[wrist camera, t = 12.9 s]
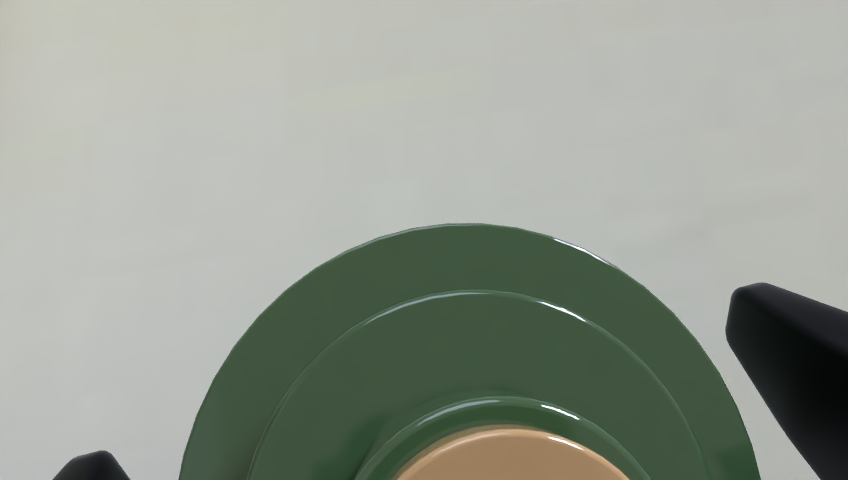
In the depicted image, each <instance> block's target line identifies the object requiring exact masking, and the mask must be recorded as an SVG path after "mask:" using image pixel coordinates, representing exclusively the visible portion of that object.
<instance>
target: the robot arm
mask: <svg viewBox="0 0 848 480" xmlns="http://www.w3.org/2000/svg"><path fill="white" fill-rule="evenodd" d="M725 331H726V338H727V341H728V343H729V346H730V347H731V349H732V351H733V352H734V354H735V355H736V357H737V359H738V360H739V362H740V363H741V365H742V366H743V368H744V370H745V371H746V373H747V374H748V376H749V378H750V379H751V381H752V382H753V384H754V385H755V387H756V389H757V390H758V392H759V393H760V395H761V396H762V398H763V400H764V401H765V403H766V404H767V406H768V408H769V409H770V411H771V412H772V414H773V415H774V417H775V419H776V420H777V422H778V423H779V425H780V426H781V428H782V429H783V431H784V432H785V434H786V435H787V436H788V438H789V439H790V440H791V442H792V443H793V444H794V446H795V447H796V448H797V450H798V451H799V452H800V454H801V455H802V456H803V458H804V459H805V460H806V461H807V463H808V464H809V465H810V467H811V468H812V469H813V470H814V472H815V473H816V474H817V476H818V477H819V478H820V479H821V480H848V312H846V311H843V310H840V309H838V308H835V307H832V306H829V305H826V304H824V303H821V302H818V301H815V300H813V299H810V298H807V297H804V296H801V295H799V294H796V293H793V292H790V291H788V290H785V289H782V288H779V287H777V286H774V285H771V284H768V283H756V284H752V285H748V286H744V287H740V288H737V289H736V290H735V291H734V292H733V294H732V296H731V301H730V307H729V312H728V318H727V323H726V330H725ZM53 480H130V479H129V477H128V476H127V474H126V473H125V472H124V470H123V469H122V468H121V466H120V465H119V463H118V462H117V461H116V459H115V458H114V457H113V455H112V454H111V453H109V452H107V451H97V452H93V453H89V454H85V455H82V456H78V457H75V458H73V459H72V460H71V461H69V462H68V463H67V464H66V465H65V466H64V468H63V469H62V470H61V471H60V472H59V473H58V474H57V475H56V476H55V477H54V479H53Z"/></svg>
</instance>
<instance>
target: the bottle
mask: <svg viewBox="0 0 848 480" xmlns="http://www.w3.org/2000/svg"><path fill="white" fill-rule="evenodd" d="M179 480H761V478H760V474H759V471H758V467H757V463H756V459H755V455H754V451H753V447H752V444H751V441H750V439H749V436H748V433H747V431H746V428H745V426H744V423H743V420H742V418H741V415H740V413H739V410H738V408H737V405H736V404H735V402H734V400H733V398H732V396H731V394H730V392H729V390H728V388H727V387H726V385H725V383H724V381H723V379H722V377H721V375H720V373H719V372H718V370H717V369H716V367H715V366H714V364H713V363H712V361H711V360H710V358H709V357H708V355H707V354H706V353H705V351H704V350H703V348H702V347H701V345H700V344H699V342H698V341H697V340H696V338H695V337H694V336H693V335H692V334H691V333H690V332H689V330H688V329H687V328H686V327H685V326H684V325H683V324H682V322H681V321H680V320H679V319H678V318H677V317H676V316H675V314H674V313H673V312H672V311H671V310H670V309H669V308H668V307H666V306H665V305H664V304H663V303H662V302H661V301H660V300H659V299H658V298H656V297H655V296H654V295H653V294H652V293H651V292H650V291H649V290H648V289H646V288H645V287H644V286H643V285H641V284H640V283H639V282H637V281H636V280H634V279H633V278H631V277H630V276H629V275H627V274H626V273H624V272H623V271H622V270H620V269H619V268H617V267H616V266H614V265H613V264H611V263H609V262H607V261H605V260H603V259H601V258H600V257H598V256H596V255H594V254H592V253H590V252H588V251H586V250H585V249H583V248H580V247H578V246H575V245H572V244H570V243H567V242H565V241H562V240H559V239H557V238H554V237H552V236H549V235H545V234H541V233H537V232H533V231H529V230H525V229H521V228H517V227H509V226H501V225H492V224H484V223H448V224H439V225H432V226H425V227H417V228H411V229H407V230H404V231H400V232H396V233H393V234H389V235H385V236H381V237H378V238H376V239H373V240H371V241H368V242H366V243H363V244H361V245H359V246H356V247H354V248H351V249H349V250H346V251H344V252H343V253H341V254H339V255H337V256H336V257H334V258H332V259H330V260H329V261H327V262H325V263H323V264H322V265H320V266H318V267H316V268H315V269H313V270H312V271H310V272H309V273H308V274H306V275H305V276H304V277H302V278H301V279H300V280H298V281H297V282H296V283H294V284H293V285H292V286H290V287H289V288H288V289H286V290H285V291H284V292H283V293H282V294H281V295H280V296H279V297H278V298H277V299H276V300H275V301H274V302H273V303H272V304H271V305H270V306H268V307H267V308H266V309H265V310H264V311H263V312H262V313H261V314H260V315H259V316H258V317H257V318H256V320H255V321H254V322H253V323H252V325H251V326H250V327H249V328H248V330H247V331H246V332H245V333H244V335H243V336H242V337H241V338H240V339H239V341H238V342H237V343H236V344H235V346H234V347H233V349H232V350H231V352H230V353H229V355H228V357H227V358H226V360H225V361H224V363H223V365H222V366H221V368H220V369H219V371H218V373H217V374H216V376H215V377H214V379H213V381H212V383H211V385H210V388H209V390H208V392H207V394H206V396H205V398H204V400H203V402H202V405H201V407H200V409H199V411H198V413H197V415H196V418H195V421H194V424H193V427H192V430H191V433H190V437H189V440H188V443H187V446H186V449H185V452H184V455H183V460H182V465H181V470H180V475H179Z"/></svg>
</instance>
